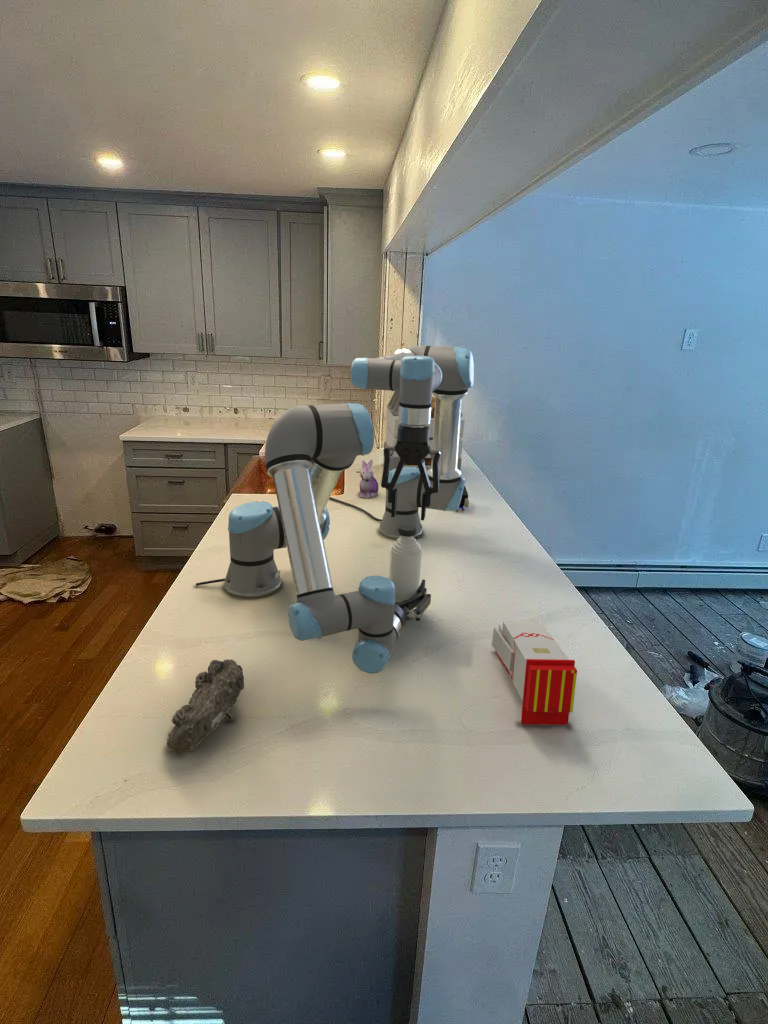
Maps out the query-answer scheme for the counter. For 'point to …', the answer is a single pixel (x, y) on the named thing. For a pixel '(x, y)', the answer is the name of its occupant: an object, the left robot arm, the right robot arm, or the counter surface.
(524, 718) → the toy
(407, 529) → the cap
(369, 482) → the figurine
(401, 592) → the bottle
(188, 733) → the fossil
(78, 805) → the counter surface
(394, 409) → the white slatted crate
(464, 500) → the figurine character
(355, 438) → the left robot arm
